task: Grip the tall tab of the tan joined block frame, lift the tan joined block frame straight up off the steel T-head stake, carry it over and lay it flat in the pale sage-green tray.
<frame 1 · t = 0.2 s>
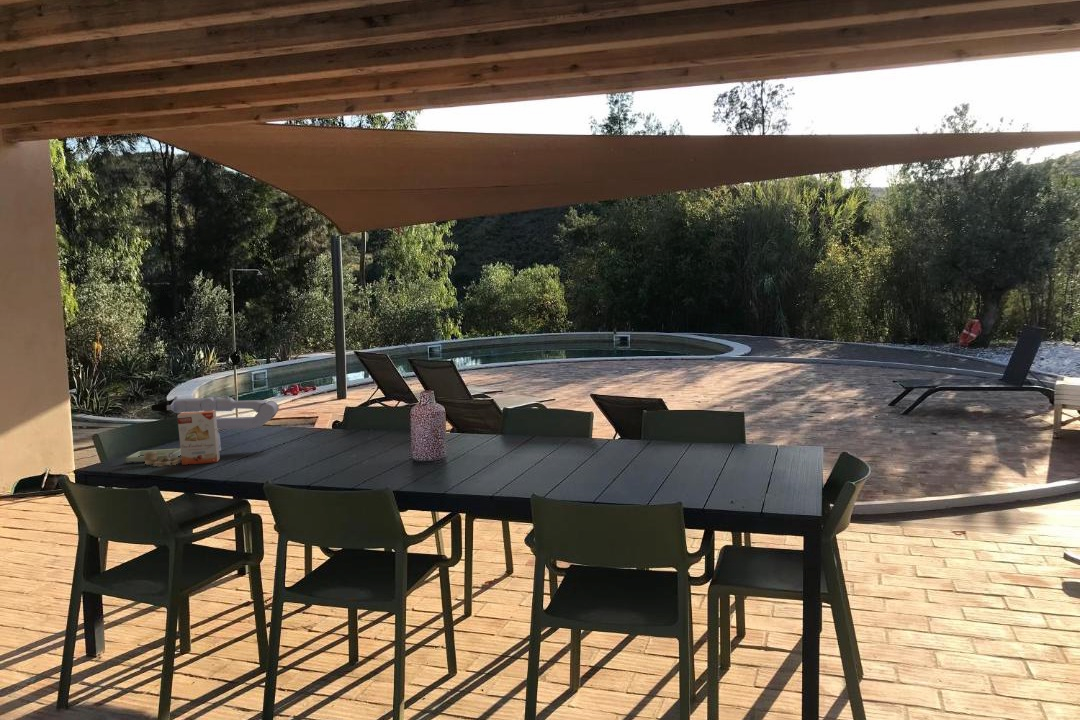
hand: (155, 406, 376), 21 cm above the table, tool horizontal, fingers open, 7 cm apart
tan joined block frame: (168, 463, 360), on the table
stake: (170, 463, 360), on the table
cracker box: (201, 463, 359), on the table
tray: (155, 458, 372), on the table
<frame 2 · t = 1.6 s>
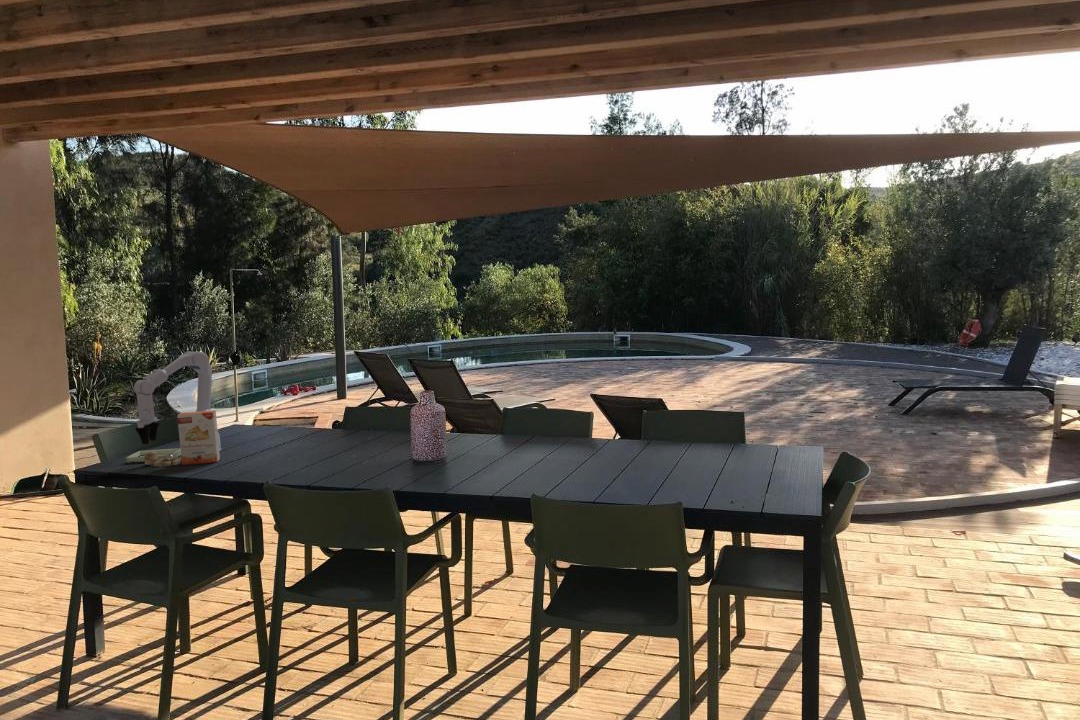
hand: (149, 442, 359), 9 cm above the table, tool pointing down, fingers open, 7 cm apart
nothing on the table moved.
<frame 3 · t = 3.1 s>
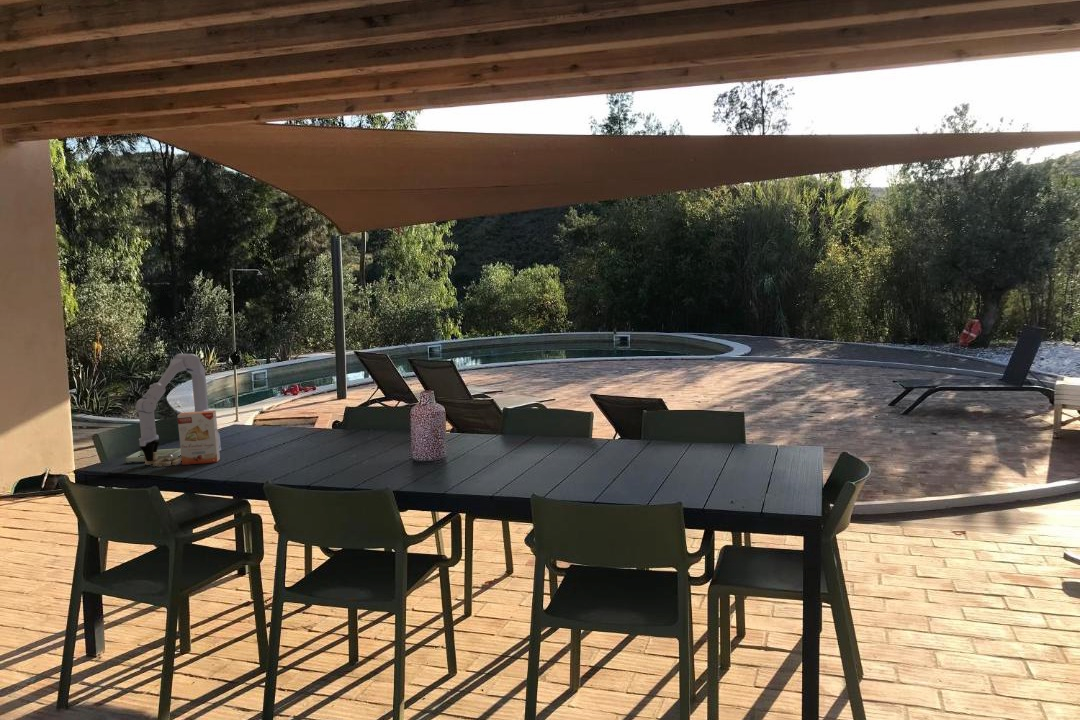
hand: (151, 460, 360), 2 cm above the table, tool pointing down, fingers closed on tan joined block frame, 2 cm apart
tan joined block frame: (168, 463, 360), on the table, touching gripper
everything else where it was.
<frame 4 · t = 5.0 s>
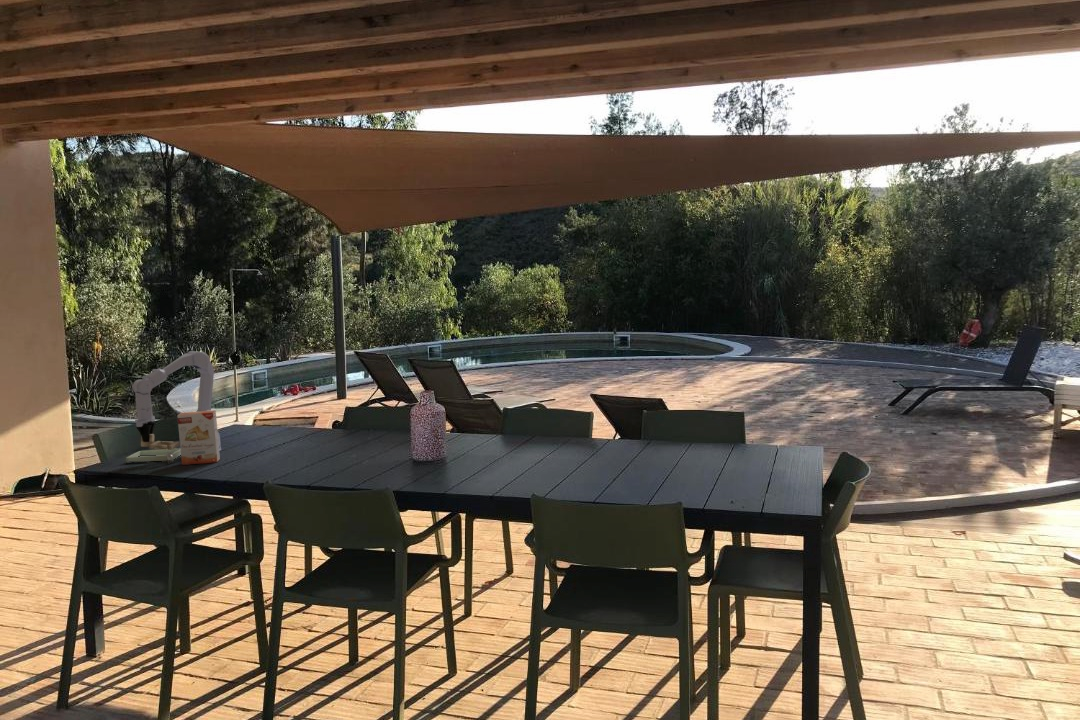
hand: (147, 441, 362), 9 cm above the table, tool pointing down, fingers closed on tan joined block frame, 2 cm apart
tan joined block frame: (164, 447, 363), point 6 cm above the table, tilted 7°, touching gripper
everything else where it was.
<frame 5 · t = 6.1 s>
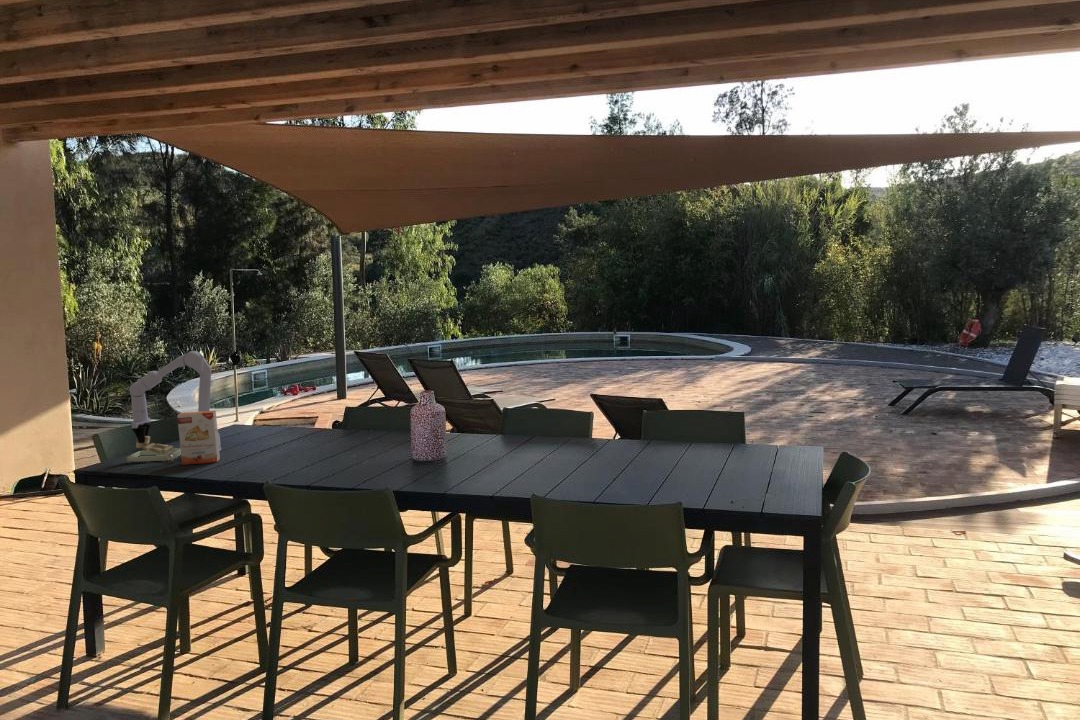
hand: (143, 442, 371), 7 cm above the table, tool pointing down, fingers closed on tan joined block frame, 2 cm apart
tan joined block frame: (158, 450, 372), point 4 cm above the table, tilted 12°, touching gripper
everything else where it was.
when the fingers open (4 cm above the table, at t = 6.9 s): tan joined block frame stays where it is, resting on tray.
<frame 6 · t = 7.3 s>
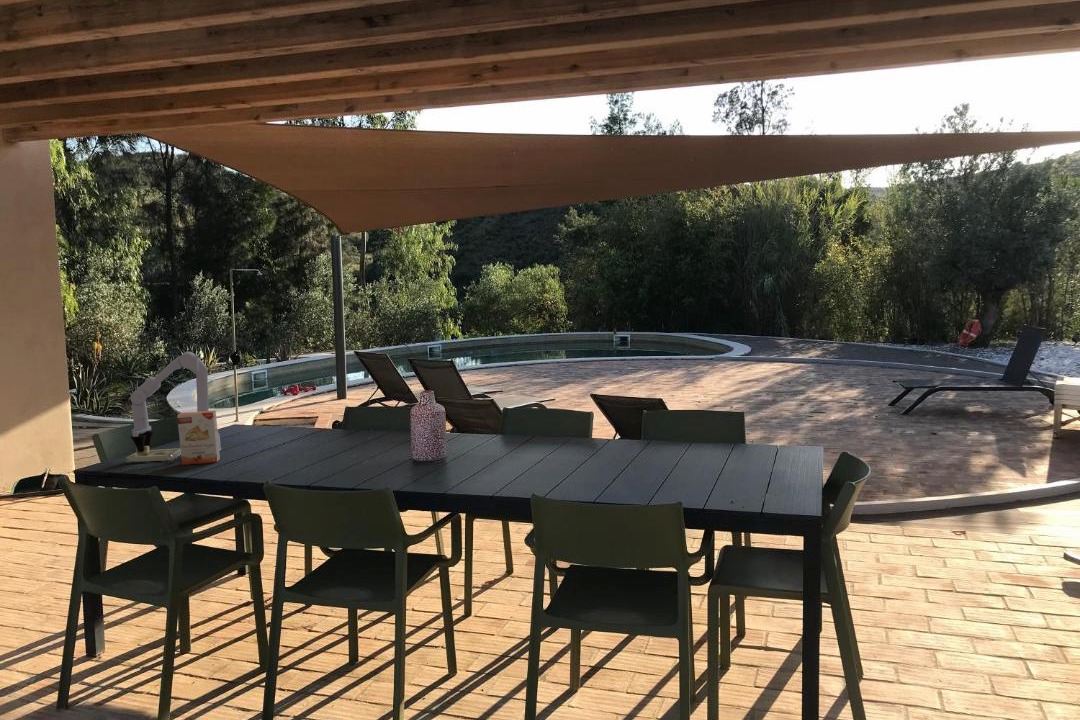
hand: (144, 450, 372), 4 cm above the table, tool pointing down, fingers open, 6 cm apart
tan joined block frame: (159, 457, 372), resting on tray
everything else where it was.
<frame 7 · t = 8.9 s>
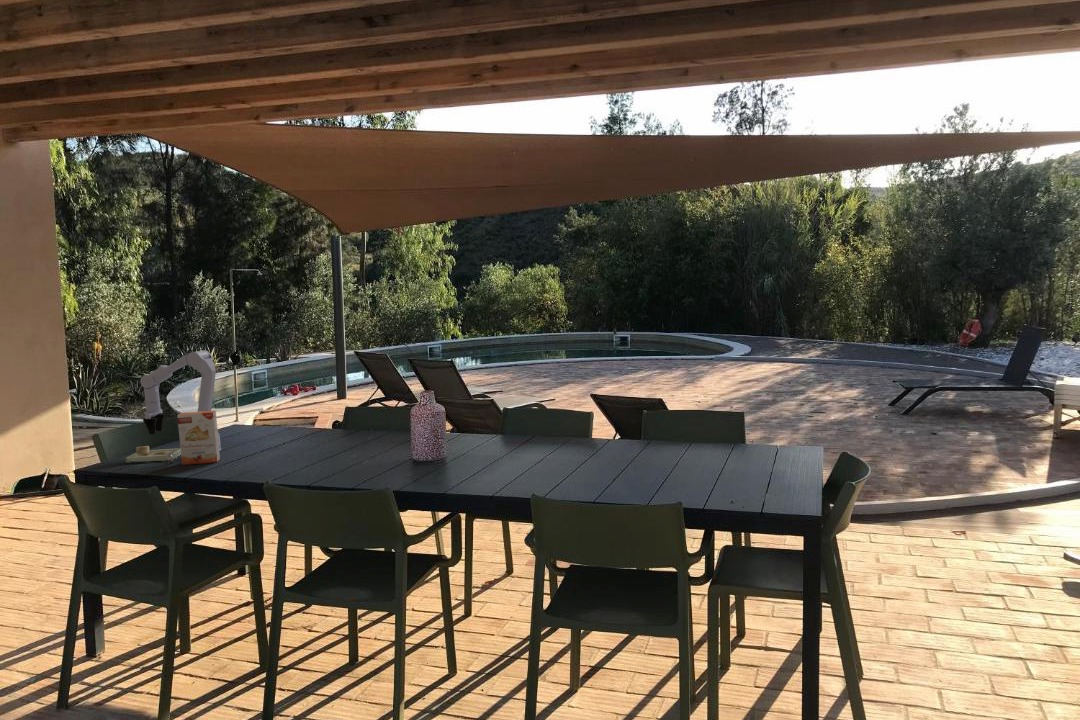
hand: (155, 432, 382), 9 cm above the table, tool pointing down, fingers open, 7 cm apart
nothing on the table moved.
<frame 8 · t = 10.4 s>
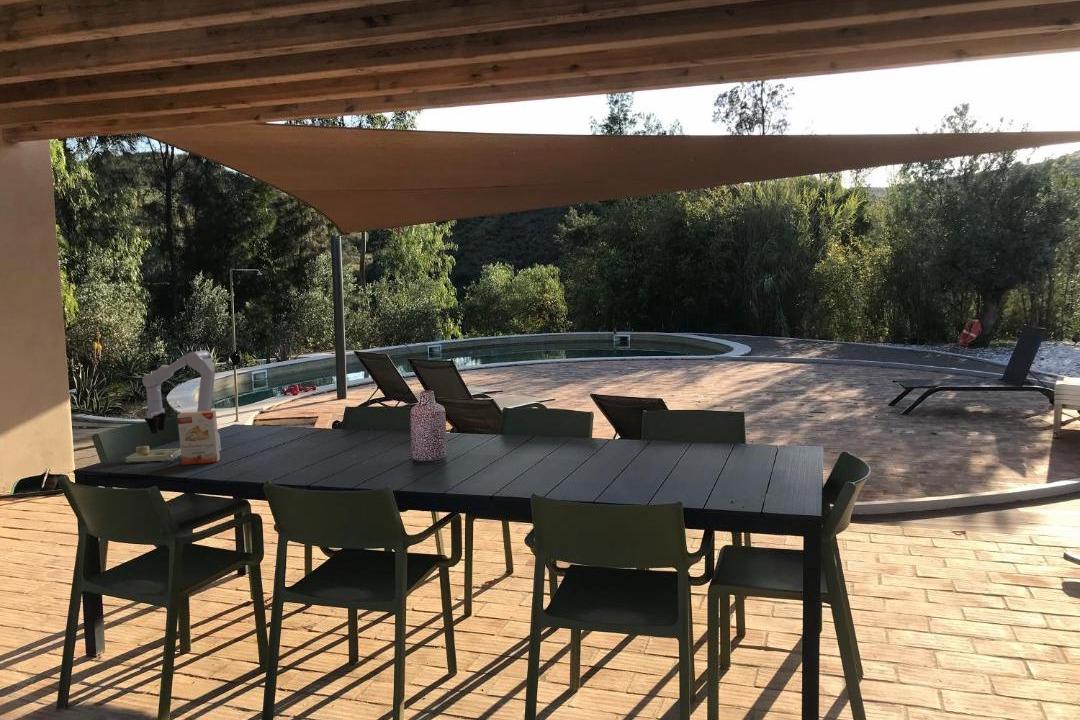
hand: (157, 431, 384), 9 cm above the table, tool pointing down, fingers open, 7 cm apart
nothing on the table moved.
at the end: tan joined block frame inside the target area on the tray (0.3 cm from its centre), point 0.5 cm above the tray's base; tan joined block frame tilted 0°; the gripper is holding nothing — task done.
